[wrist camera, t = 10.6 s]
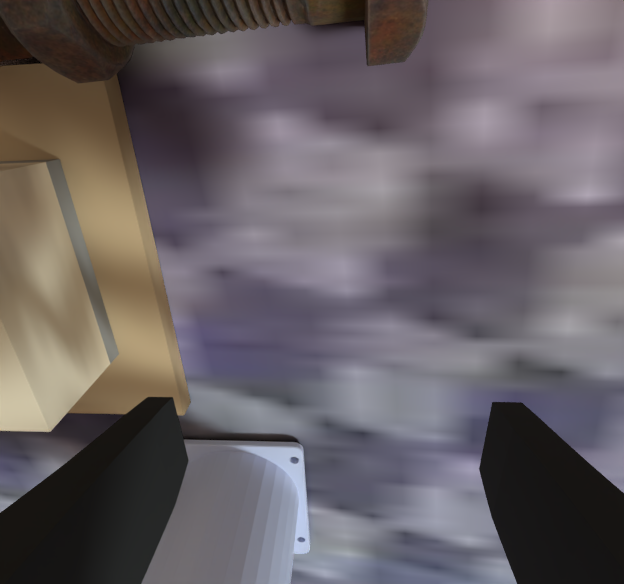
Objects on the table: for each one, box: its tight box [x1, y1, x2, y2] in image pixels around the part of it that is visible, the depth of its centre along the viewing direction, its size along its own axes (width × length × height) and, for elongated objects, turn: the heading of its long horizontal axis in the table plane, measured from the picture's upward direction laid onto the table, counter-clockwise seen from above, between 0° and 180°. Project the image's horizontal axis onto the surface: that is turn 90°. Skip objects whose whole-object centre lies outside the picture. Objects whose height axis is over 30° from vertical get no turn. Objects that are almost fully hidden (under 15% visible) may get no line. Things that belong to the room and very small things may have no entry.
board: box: [0, 63, 191, 415], centre depth 18 cm, size 16×10×1 cm, turn 3°
